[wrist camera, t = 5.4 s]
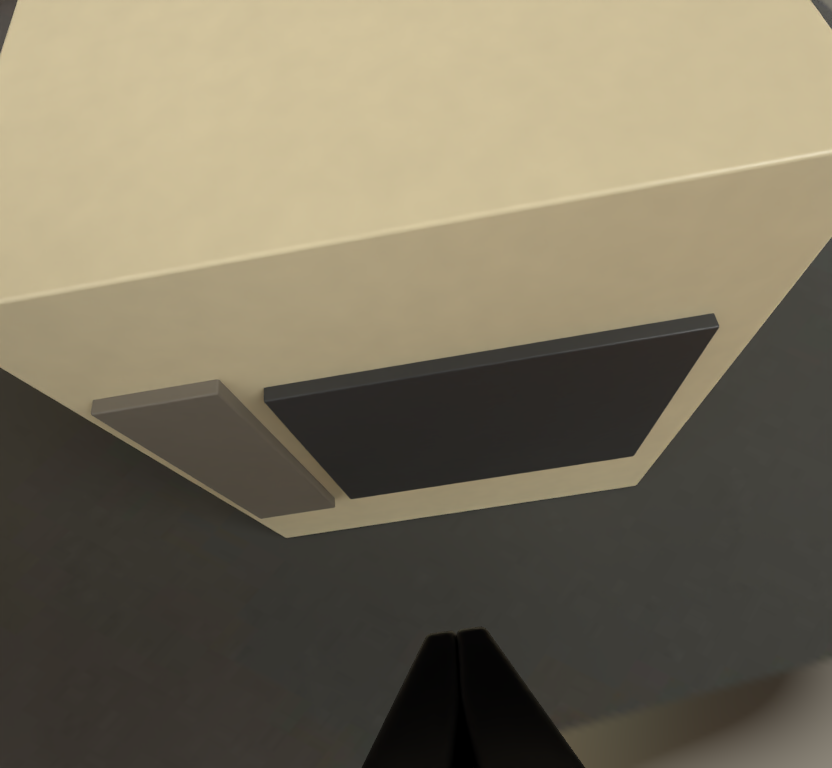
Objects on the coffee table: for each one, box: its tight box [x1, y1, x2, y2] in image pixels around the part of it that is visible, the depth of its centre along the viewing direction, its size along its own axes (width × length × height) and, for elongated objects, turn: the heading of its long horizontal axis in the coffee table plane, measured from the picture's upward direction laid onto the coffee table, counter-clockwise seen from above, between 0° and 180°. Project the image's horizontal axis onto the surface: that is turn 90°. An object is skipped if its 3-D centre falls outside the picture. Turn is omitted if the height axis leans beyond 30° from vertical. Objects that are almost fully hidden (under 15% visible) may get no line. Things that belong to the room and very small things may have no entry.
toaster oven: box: [0, 0, 832, 538], centre depth 15 cm, size 12×11×13 cm
